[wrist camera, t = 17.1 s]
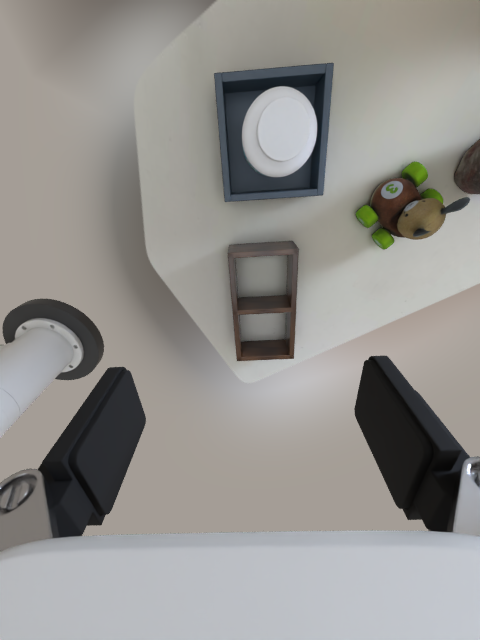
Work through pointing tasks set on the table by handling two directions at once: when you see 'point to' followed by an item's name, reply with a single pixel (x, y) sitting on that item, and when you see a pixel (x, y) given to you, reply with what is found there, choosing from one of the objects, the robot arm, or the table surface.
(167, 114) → the table surface
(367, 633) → the robot arm
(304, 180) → the blue square tray
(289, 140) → the pill bottle
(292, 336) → the rack
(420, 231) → the toy car
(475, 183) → the candle
